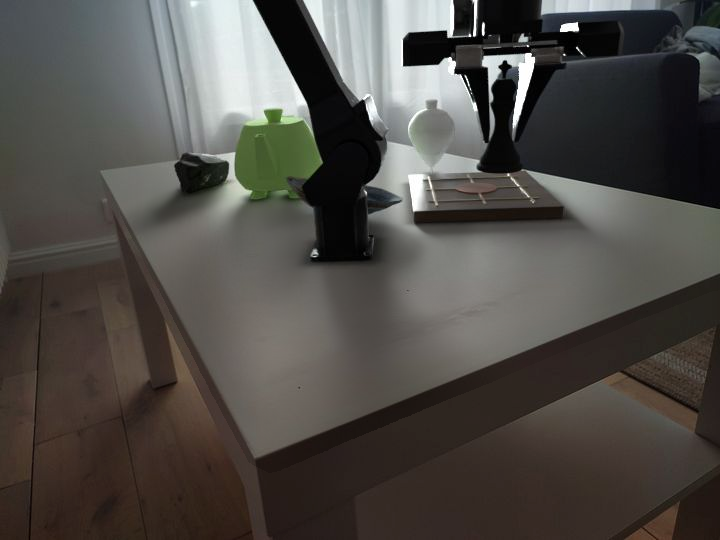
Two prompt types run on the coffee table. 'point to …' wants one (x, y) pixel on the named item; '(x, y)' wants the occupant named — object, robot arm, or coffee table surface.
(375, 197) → the seashell
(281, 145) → the teapot
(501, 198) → the board
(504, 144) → the chess piece
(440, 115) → the spinning top
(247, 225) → the coffee table surface
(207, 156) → the rock
